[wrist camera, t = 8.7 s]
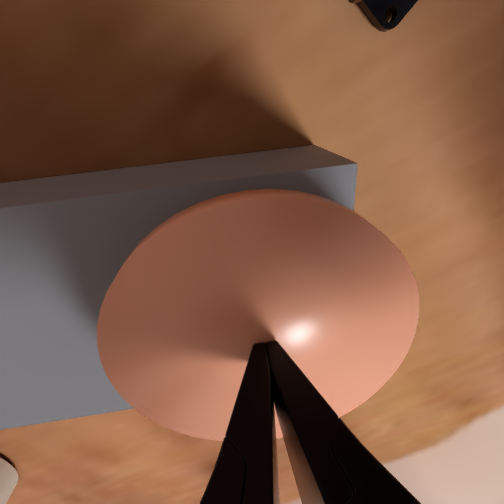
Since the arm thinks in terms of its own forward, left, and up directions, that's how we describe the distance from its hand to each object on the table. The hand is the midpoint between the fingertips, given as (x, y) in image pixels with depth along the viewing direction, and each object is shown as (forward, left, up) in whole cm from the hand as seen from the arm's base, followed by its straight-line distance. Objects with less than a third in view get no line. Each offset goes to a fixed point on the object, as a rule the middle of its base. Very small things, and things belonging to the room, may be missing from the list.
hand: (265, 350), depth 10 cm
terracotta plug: (0, 0, -6) cm, 6 cm away
